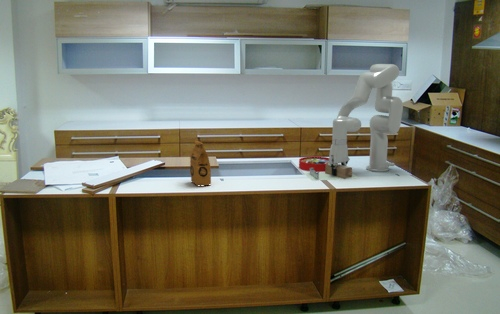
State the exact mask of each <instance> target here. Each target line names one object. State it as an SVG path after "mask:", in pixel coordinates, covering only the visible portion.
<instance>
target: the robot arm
mask: <svg viewBox="0 0 500 314" xmlns="http://www.w3.org/2000/svg"><path fill="white" fill-rule="evenodd" d="M399 74H400V68H399V67H398V66H397V65H396V64H393V63H376V64H372V65H371V66H370V67H369V71H365V72H362V73H361V74H360V75H359V77H358V79H357V83H356V85H355V88H354V91H353V93H352V96H351V97H350V98H349V99H348V100H347V101H346V102H345V103H344V104H343V105H342V107H341V108H340V109H339V111H338V113H337V115H336V116H337V117H336V118H334V119H333V121H332V138H331V140H332V141H331V143H332V144H331V145H330V148H329V155H328V156H329V157H328V158H329V161H328V164H329V165H330V167H331V168H332V175H333V176H336V175H337V169H336V166H337V164H340V165H344V166H347V165H348V163H349V162H350V157H349V148H348V143H347V142H348V132H350V133H353V132H354V133H355V132H358V131H359V130H360V129H361V127H362V122H361V120H360V119H359V118H357V117H351V116H350V114H351V113H352V112H353V110H355V109H356V108H358V107H361V106H363V105H365V104H367V103H368V101H369V98H370V95H371V94H372V93H371V92H372V90H373V89H376V93H375V94H376V95H375V101H374V109H375V111H377V112H378V113H382V114H375V115H372V117H371V118H370V120H369V129H370V144H369V145H370V146H369V164H368V165H366V167H365V168H366V170H367V171H371V172H376V173H377V172H383V173H384V172H388V171H389V170H390V168H389V167H395V162H389V161H387V159H388V158H387V157H388V146H389V143H388V142H389V140H388V139H389V138H388V135H387V134H393V135H394V134H397V133H398V132H399V131H400V128H401V124H402V116H403V111H404V110H403V109H404V104H403V100H402V99H401V98H400V97H397V96H393V84H392V82H394V81H395V80H397V78H398V77H399ZM383 114H385V115H383ZM386 114H388V115H386ZM334 164H335V165H334Z"/></svg>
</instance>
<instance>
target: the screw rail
mask: <svg viewBox="0 0 500 314" xmlns="http://www.w3.org/2000/svg"><path fill="white" fill-rule="evenodd" d="M309 169H310V171H309V173H310V174H311V175H312V176H313V177H314V178H316V179H317V181H320V180H319V172H318V171H314V170H313V169H314V168H309Z"/></svg>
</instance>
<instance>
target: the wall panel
mask: <svg viewBox="0 0 500 314" xmlns="http://www.w3.org/2000/svg"><path fill="white" fill-rule="evenodd" d="M303 175H305V176H306V177H307V178H308V179H310V180H311V181H312V182H316V181H333V180H335V181H336V180H352V179H359V177H358V176H357V175H355V174H354V173H352V177H349V178H340V177H337V176H333V175H330V174H326V173H325V172H319V180H317V179H316V178H314V177H313V176H312V175H311V174H310V172H304V173H303Z"/></svg>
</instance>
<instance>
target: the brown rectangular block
mask: <svg viewBox="0 0 500 314" xmlns="http://www.w3.org/2000/svg"><path fill="white" fill-rule="evenodd" d="M334 165H335V164H334ZM336 169H337V175H336V176H337V177H340V178H349V177H352V174H353V167H350V166H349V165H348V166H344V165H341V163H338V164H337V166H336ZM325 173H326V174H330V175H332V168H331V167H330V165H329V164H326V168H325Z"/></svg>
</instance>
